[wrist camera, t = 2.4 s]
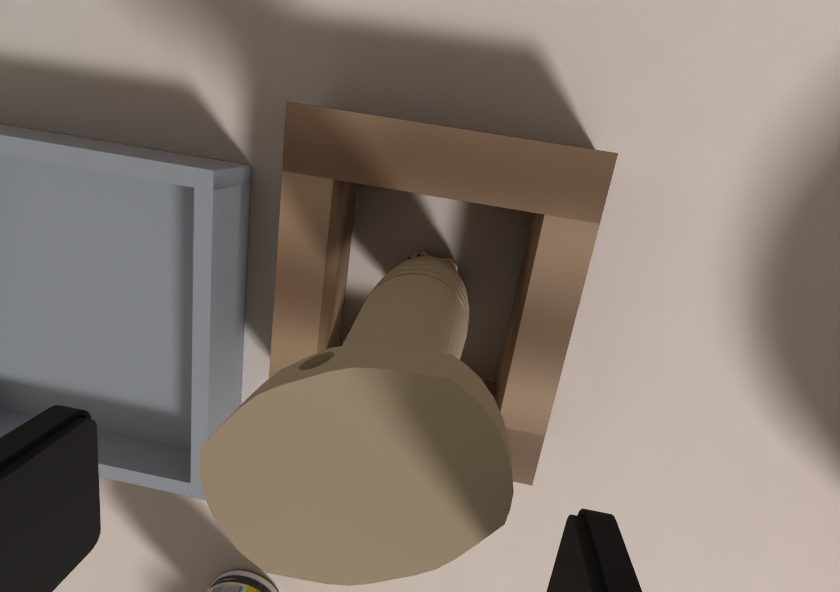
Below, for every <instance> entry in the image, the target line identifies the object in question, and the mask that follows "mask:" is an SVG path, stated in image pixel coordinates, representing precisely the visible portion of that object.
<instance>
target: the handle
mask: <svg viewBox="0 0 840 592" xmlns="http://www.w3.org/2000/svg"><path fill="white" fill-rule="evenodd" d="M457 270H458V266H457V263H456V262H455V261H454V260H453V259H452V258H450V257H448V258H437V257H434V256H431V255H429V254H427V252H425V251H422V252H417V253H414V254H412V255H411V256H410V257H408V258H407V260H406V261H404V262H402V263H401V264H399V265H398V266H396V267H395V268H394V269H392V270H391V271H390V272H389V273H388V274H387V275H386V276H385V277H384V278H382V279H381V281H380V282H379V283H378V284H377V285H376V287H375V288H374V289H373V290H372V292H371V293H370V294H369V296H368V297H367V299H366V301H365V302H364V304H363V306H362V308H361V310H360V312H359V314H358V316H357V318H356V320H355V322H354V324H353V326H352V328H351V330H350V331H349V333H348V335H347V337H346V339H345V341H344V343H343V345H342V346H339V347H333V348H328V349H326V350H323V351H321V352H318V353H316V354H314V355H311V356H309V357H307V358H304V359H302V360H300V361H298V362H296V363H294V364H292V365H290V366H287V367H285V368H283V369H281V370H279V371H278V372H277V373H276V374H275V375H273V376H272V377H271V378H270V379H268V380H267V381H266V382H265V383H264V384H262V385H261V386H260V387H259V388H258V389H257V390H256V391H255V392H254V393H253V394H252V395H251V396H250V397H249V398H248V399H247V400H246V401H245V402H244V403H243V404H242V405H241V406H240V407H239V408H238V409H237V410H236V411H235V412H234V413H233V414H232V415H231V416H230V417H229V418H228V419H227V420H226V421H225V422H224V423H223V424H222V425H221V426H220V427H219V428H218V429H217V430H216V431H215V432H214V433H213V434H212V436H211V437H210V438H209V439H208V440H207V441H206V442H205V443H204V444H203V445H202V446H201V454H200V461H199V463H200V480H201V484H202V488H203V492H204V496H205V499H206V501H207V503H208V505H209V508H210V510H211V512H212V514H213V517H214V518H215V520H216V522H217V523H218V525H219V526H220V528H221V530H222V531H223V533H224V534H225V536H226V537H227V538H228V539H229V541H230V542H231V543H232V544H233V545H234V546H235V548H236V549H237V550H238V551H239V552H240V553H241V554H242V555H244V556H245V557H246V558H247V559H248V560H250V561H251V562H252V563H253V564H255V565H256V566H258V567H259V568H261V569H262V570H264V571H265V572H267V573H272V574H277V575H282V576H287V577H292V578H297V579H302V580H308V581H314V582H319V583H325V584H336V585H348V586H350V585H360V584H371V583H376V582H381V581H387V580H392V579H397V578H403V577H408V576H413V575H417V574H421V573H424V572H428V571H431V570H435V569H437V568H439V567H441V566H443V565H445V564H447V563H449V562H451V561H453V560H454V559H456V558H458V557H459V556H460V555H462V554H463V553H465V552H466V551H468V550H469V549H471V548H472V547H474V546H475V545H477V544H478V543H479V542H481V541H482V540H483V539H485V538H486V537H488V536H489V535H490V534H492V533H493V532H494V531H496V530H497V529H499V528H500V527H501V526H503V525H504V524H505V521H506V519H507V516H508V513H509V511H510V507H511V502H512V497H513V477H512V462H511V450H510V443H509V439H508V435H507V431H506V427H505V423H504V419H503V417H502V415H501V412H500V410H499V408H498V406H497V404H496V401H495V399H494V397H493V396H492V394H491V393H490V391H489V390H488V388H487V387H486V385H485V384H484V382H483V381H482V379H481V378H480V377H479V376H478V375H477V374H476V373H475V372H473V371H472V370H471V369H470V368H469V367H468V366H467V365H466V364H464V363H463V362H462V361H460V358H461V354H462V351H463V348H464V344H465V340H466V337H467V331H468V321H469V304H468V296H467V292H466V288H465V285H464V283H463V280H462V278H461V277H460V275H459V274H458V272H457Z"/></svg>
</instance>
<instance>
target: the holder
mask: <svg viewBox="0 0 840 592" xmlns="http://www.w3.org/2000/svg"><path fill="white" fill-rule="evenodd" d="M617 155H618V153H612V152H606V151H600V150H593V149H587V148H580V147H574V146H568V145H561V144H555V143H548V142H542V141H536V140H529V139H523V138H516V137H510V136H504V135H497V134H491V133H484V132H478V131H472V130H465V129H459V128H452V127H446V126H440V125H433V124H427V123H420V122H414V121H408V120H401V119H395V118H388V117H382V116H376V115H369V114H363V113H357V112H350V111H344V110H337V109H331V108H325V107H318V106H312V105H305V104H299V103H293V102H287V105H286V121H285V137H284V152H283V168H282V183H281V199H280V214H279V230H278V246H277V261H276V277H275V292H274V308H273V324H272V339H271V355H270V370H269V379H270V378H271V377H272V376H273V375H275V374H276V373H277V372H278V371H279V370H281V369H283V368H285V367H287V366H290V365H292V364H294V363H296V362H298V361H300V360H302V359H304V358H307V357H309V356H311V355H314V354H316V353H318V352H321V351H323V350H326V349H328V348H333V347H339V345H340V336H341V327H342V318H343V309H344V299H345V290H346V281H347V272H348V263H349V253H350V244H351V235H352V226H353V217H354V207H355V198H356V189H357V183H358V184H364V185H370V186H376V187H382V188H388V189H394V190H400V191H406V192H412V193H418V194H424V195H430V196H436V197H442V198H448V199H454V200H460V201H466V202H472V203H478V204H484V205H490V206H496V207H502V208H508V209H514V210H520V211H526V212H532V213H533V215H532V220H531V225H530V229H529V234H528V239H527V243H526V248H525V252H524V257H523V262H522V266H521V271H520V275H519V280H518V285H517V289H516V294H515V299H514V303H513V308H512V312H511V317H510V322H509V326H508V331H507V336H506V340H505V345H504V349H503V354H502V359H501V363H500V368H499V372H498V377H497V382H496V383H492V382H487V381H483V382H484V384H485V385H486V387H487V388H488V390H489V391H490V393H491V394H492V396H493V397H494V399H495V401H496V404H497V406H498V408H499V410H500V412H501V415H502V417H503V419H504V423H505V427H506V431H507V435H508V439H509V443H510V450H511V462H512V477H513V481H514V482H518V483H523V484H528V485H532V484H533V480H534V476H535V472H536V468H537V464H538V461H539V457H540V453H541V449H542V445H543V441H544V437H545V434H546V430H547V426H548V422H549V418H550V414H551V410H552V406H553V403H554V399H555V395H556V391H557V387H558V383H559V379H560V375H561V372H562V368H563V364H564V360H565V356H566V352H567V348H568V345H569V341H570V337H571V333H572V329H573V325H574V321H575V317H576V314H577V310H578V306H579V302H580V298H581V294H582V290H583V286H584V283H585V279H586V275H587V271H588V267H589V263H590V259H591V256H592V252H593V248H594V244H595V240H596V236H597V232H598V228H599V225H600V221H601V217H602V213H603V209H604V205H605V201H606V197H607V194H608V190H609V186H610V182H611V178H612V174H613V170H614V167H615V163H616V159H617Z"/></svg>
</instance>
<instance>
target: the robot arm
mask: <svg viewBox="0 0 840 592" xmlns="http://www.w3.org/2000/svg"><path fill="white" fill-rule="evenodd" d="M100 529H101V527H100V498H99V469H98V441H97V424H96V422H95V421H94V420H92V419H91V415H90V414H89V412H88V411H86V410H82V409H77V408H72V407H67V406H62V405H54V406H52V407H50V408H48V409H46V410H45V411H43V412H41V413H40V414H38V415H37V416H35V417H33V418H32V419H30V420H28V421H27V422H25V423H23V424H22V425H20V426H19V427H17V428H15V429H14V430H12V431H10V432H9V433H7V434H5V435H4V436H2V437H1V438H0V592H52V591H53V590H54V589H55V588H56V587H57V586H58V585H59V584H60V583H61V582H62V581H63V580H64V579H65V578H66V577H67V576H68V574H69V573H70V572H71V571H72V570H73V569H74V568H75V567H76V566H77V565H78V564H79V563H80V562H81V561H82V560H83V559H84V558H85V557H86V556H87V555H88V554H89V552H90V551H91V550H92V549H93V548H94V546H95V545H96V543H97V541H98V538H99V535H100ZM547 592H642V590H641V587H640V585H639V582H638V579H637V576H636V574H635V571H634V568H633V566H632V563H631V560H630V557H629V555H628V552H627V549H626V546H625V544H624V541H623V538H622V535H621V533H620V530H619V527H618V524H617V522H616V519H615V517H614V516H613V515H612V514H607V513H602V512H597V511H592V510H587V509H581V510H580V511H579V513H578V516H575V515H569V517H568V519H567V521H566V525H565V529H564V532H563V536H562V539H561V543H560V546H559V550H558V553H557V557H556V560H555V564H554V568H553V571H552V575H551V578H550V582H549V585H548V589H547Z"/></svg>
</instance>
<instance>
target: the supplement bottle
mask: <svg viewBox="0 0 840 592" xmlns="http://www.w3.org/2000/svg"><path fill="white" fill-rule="evenodd" d="M207 592H277V590H276V589H275V587H274V586H273V585H272V584H271V583H270V582H268V581H267V580H266V579H264V578H262V577H261V576H259V575H256V574H254V573H251V572H248V571H241V570H236V571H229V572H226V573H224V574H222V575H220V576H219V577H217V578H216V579H215V580H214V581H213V583H212V584H211V585H210V587H209V589H208V591H207Z"/></svg>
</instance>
